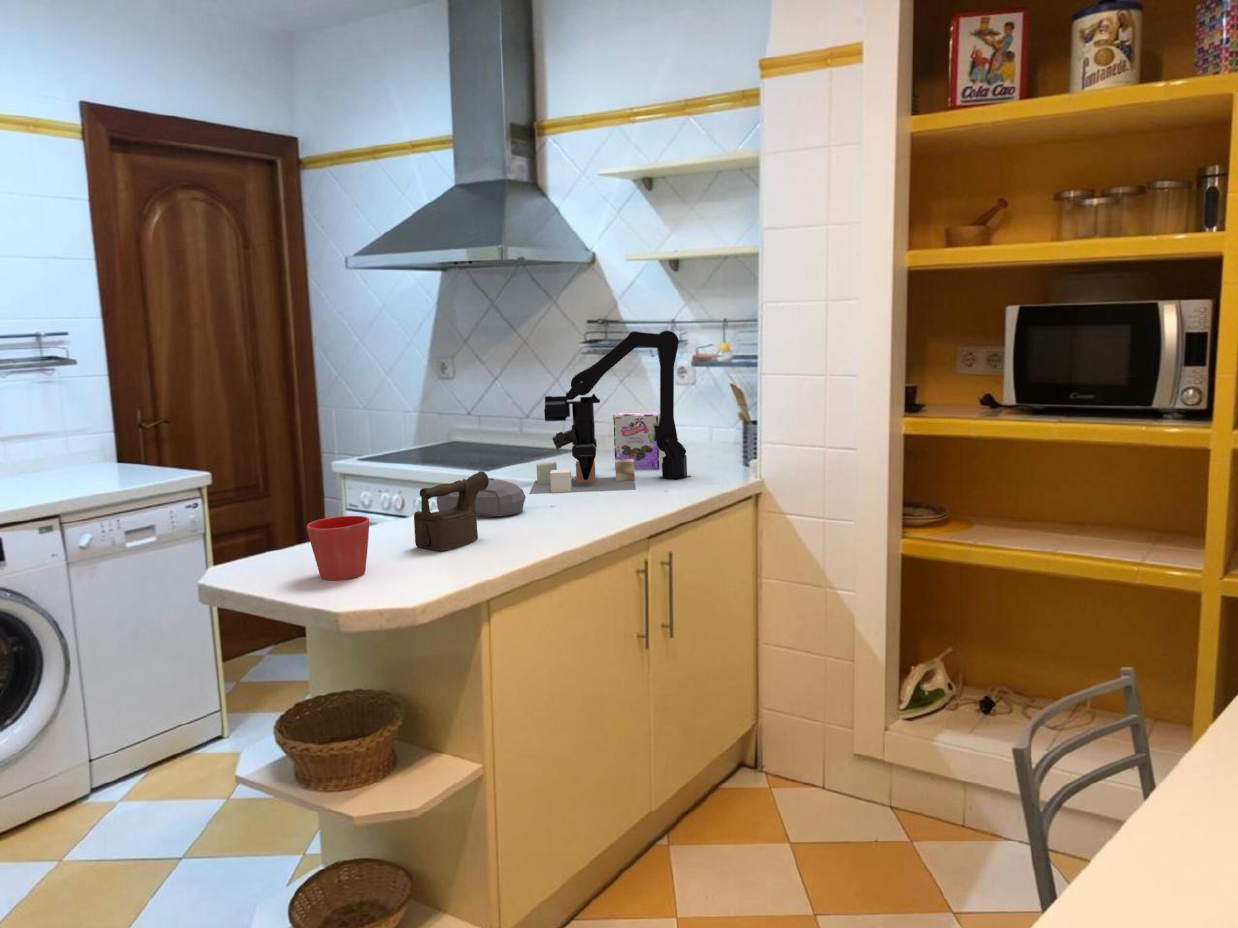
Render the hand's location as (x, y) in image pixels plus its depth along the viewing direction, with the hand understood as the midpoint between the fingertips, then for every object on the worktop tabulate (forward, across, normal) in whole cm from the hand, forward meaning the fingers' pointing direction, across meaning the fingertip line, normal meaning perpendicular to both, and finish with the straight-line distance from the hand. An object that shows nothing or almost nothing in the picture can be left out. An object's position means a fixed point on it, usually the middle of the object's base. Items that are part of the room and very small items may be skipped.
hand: (586, 477), depth 259 cm
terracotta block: (+1, 0, 0) cm, 1 cm away
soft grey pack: (+2, +36, -23) cm, 43 cm away
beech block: (+1, 0, +10) cm, 11 cm away
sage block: (+1, 0, -10) cm, 11 cm away
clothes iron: (+2, +68, -25) cm, 72 cm away
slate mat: (+1, +6, -1) cm, 7 cm away
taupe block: (+1, +14, -6) cm, 15 cm away
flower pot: (+2, +89, -41) cm, 98 cm away
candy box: (+2, -19, +15) cm, 25 cm away
